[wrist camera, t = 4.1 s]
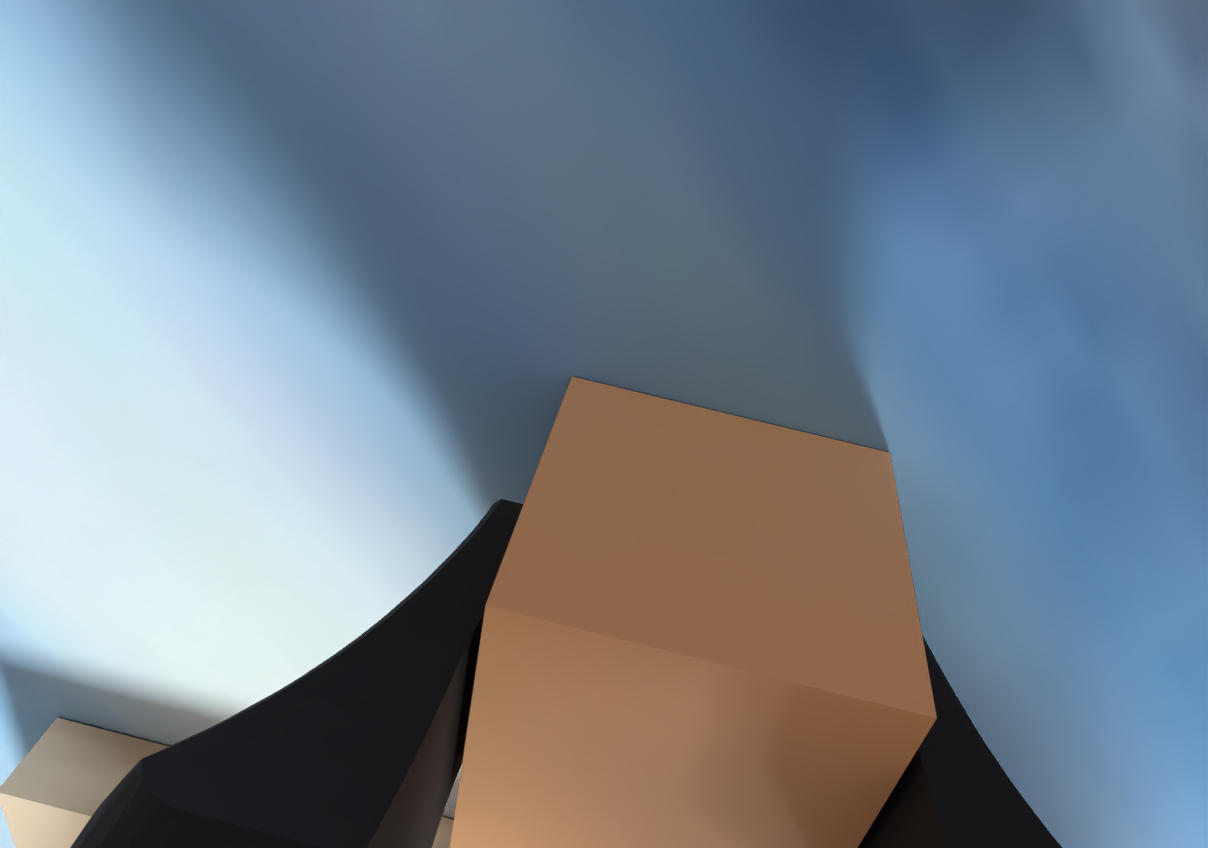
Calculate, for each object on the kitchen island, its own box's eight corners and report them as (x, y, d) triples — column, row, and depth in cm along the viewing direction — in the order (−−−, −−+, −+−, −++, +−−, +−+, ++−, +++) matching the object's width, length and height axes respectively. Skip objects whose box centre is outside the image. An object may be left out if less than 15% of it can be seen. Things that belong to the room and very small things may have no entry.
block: (890, 452, 14) (936, 717, 10) (793, 668, 17) (798, 943, 13) (571, 376, 14) (485, 604, 10) (530, 602, 17) (449, 853, 13)
